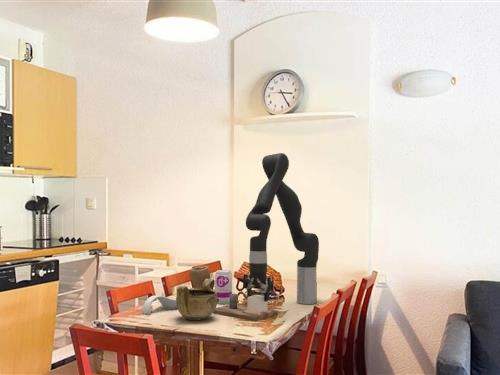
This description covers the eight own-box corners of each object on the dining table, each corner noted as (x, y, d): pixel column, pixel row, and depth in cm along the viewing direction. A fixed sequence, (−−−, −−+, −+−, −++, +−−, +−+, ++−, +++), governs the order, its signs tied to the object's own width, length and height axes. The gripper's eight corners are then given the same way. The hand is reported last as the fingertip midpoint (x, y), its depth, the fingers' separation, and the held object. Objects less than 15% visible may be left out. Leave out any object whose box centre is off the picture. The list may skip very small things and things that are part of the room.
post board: (234, 306, 238) (234, 290, 239) (277, 314, 224) (277, 296, 224) (210, 312, 226) (210, 295, 226) (255, 321, 211) (255, 302, 211)
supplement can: (229, 304, 243) (230, 272, 243) (212, 304, 245) (212, 271, 245) (233, 301, 251) (234, 270, 251) (217, 300, 252) (217, 269, 253)
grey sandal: (170, 304, 244) (171, 288, 244) (191, 307, 238) (191, 291, 238) (135, 313, 224) (135, 296, 224) (156, 317, 218) (156, 299, 218)
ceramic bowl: (195, 311, 228) (196, 276, 229) (228, 316, 220) (229, 280, 220) (162, 321, 209) (163, 283, 209) (197, 327, 200) (198, 287, 201)
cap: (255, 309, 225) (256, 294, 225) (267, 310, 221) (267, 296, 221) (247, 311, 220) (247, 296, 220) (258, 313, 216) (258, 298, 216)
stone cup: (184, 296, 262) (184, 266, 263) (198, 293, 272) (199, 264, 273) (209, 299, 254) (209, 268, 255) (222, 296, 265) (223, 266, 265)
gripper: (277, 262, 220) (277, 300, 219) (250, 259, 228) (249, 296, 228) (266, 263, 214) (266, 303, 213) (239, 261, 222) (239, 299, 222)
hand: (258, 300), depth 221 cm, fingers open, 8 cm apart
